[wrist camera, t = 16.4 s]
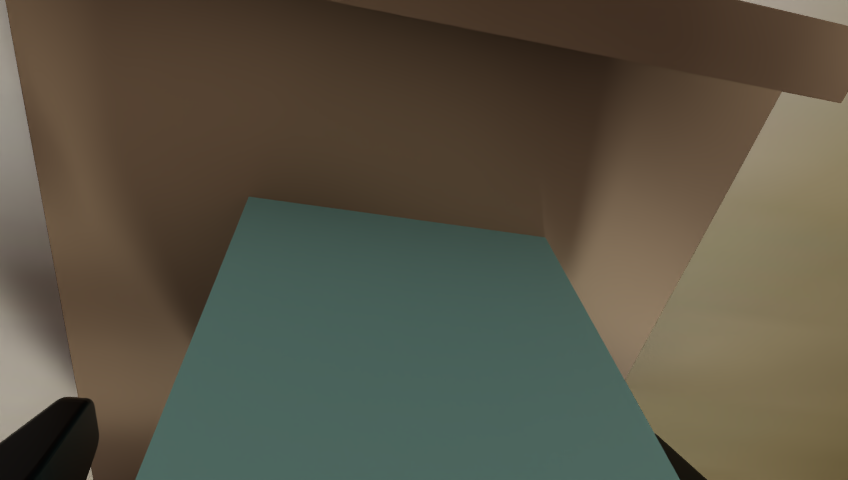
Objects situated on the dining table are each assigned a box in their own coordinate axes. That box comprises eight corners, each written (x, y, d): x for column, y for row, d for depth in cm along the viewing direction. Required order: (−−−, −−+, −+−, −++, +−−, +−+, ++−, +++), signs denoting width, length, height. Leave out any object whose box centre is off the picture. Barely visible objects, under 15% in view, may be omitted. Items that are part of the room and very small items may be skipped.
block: (472, 428, 13) (534, 717, 8) (238, 413, 12) (158, 734, 7) (545, 237, 10) (697, 510, 6) (249, 196, 9) (131, 491, 5)
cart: (505, 476, 19) (576, 755, 13) (145, 462, 17) (14, 791, 11) (718, -5, 11) (1188, 108, 5) (82, -153, 9) (-626, -314, 2)
